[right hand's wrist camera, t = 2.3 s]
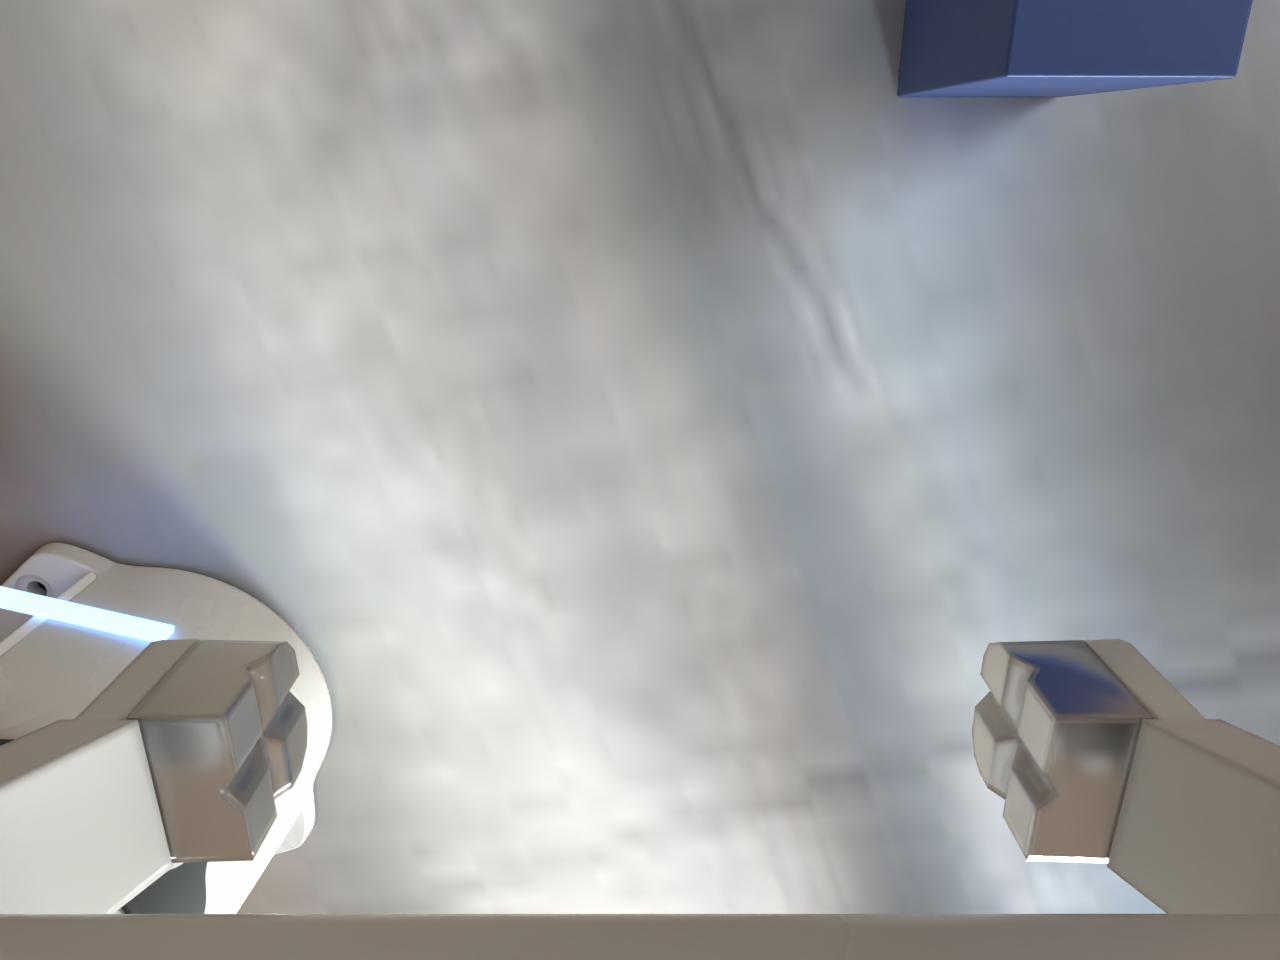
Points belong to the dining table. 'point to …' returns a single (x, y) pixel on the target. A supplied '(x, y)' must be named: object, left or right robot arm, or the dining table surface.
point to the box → (1066, 45)
